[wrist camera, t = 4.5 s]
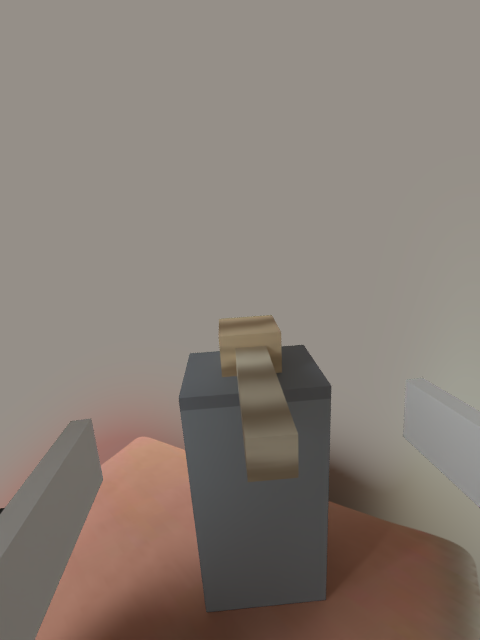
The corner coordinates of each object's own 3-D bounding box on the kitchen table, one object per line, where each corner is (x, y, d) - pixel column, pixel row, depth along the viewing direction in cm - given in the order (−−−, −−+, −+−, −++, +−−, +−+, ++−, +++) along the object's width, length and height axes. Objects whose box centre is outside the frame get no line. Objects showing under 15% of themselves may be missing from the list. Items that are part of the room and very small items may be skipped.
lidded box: (204, 612, 42) (176, 398, 33) (208, 526, 54) (188, 352, 45) (327, 599, 43) (333, 385, 34) (304, 517, 55) (303, 343, 46)
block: (323, 475, 22) (325, 412, 21) (222, 484, 22) (216, 421, 20) (272, 349, 44) (271, 315, 43) (222, 353, 44) (219, 318, 42)
